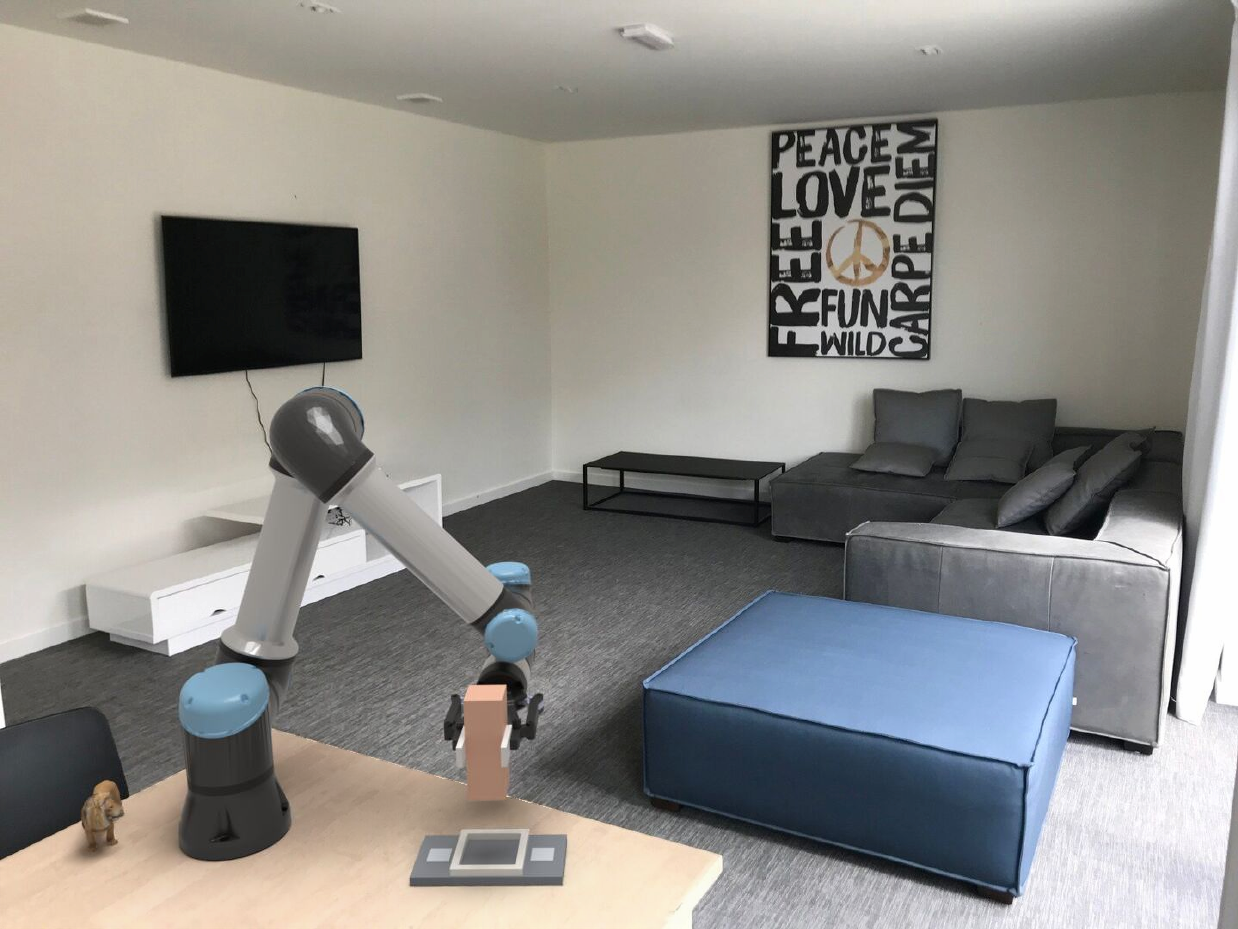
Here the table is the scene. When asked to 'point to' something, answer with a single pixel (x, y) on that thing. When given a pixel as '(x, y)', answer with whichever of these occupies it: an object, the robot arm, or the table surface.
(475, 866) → the base board
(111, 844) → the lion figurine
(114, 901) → the table surface
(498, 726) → the terracotta pillar
